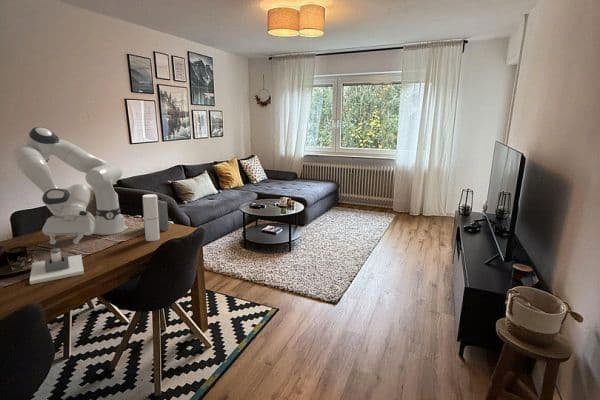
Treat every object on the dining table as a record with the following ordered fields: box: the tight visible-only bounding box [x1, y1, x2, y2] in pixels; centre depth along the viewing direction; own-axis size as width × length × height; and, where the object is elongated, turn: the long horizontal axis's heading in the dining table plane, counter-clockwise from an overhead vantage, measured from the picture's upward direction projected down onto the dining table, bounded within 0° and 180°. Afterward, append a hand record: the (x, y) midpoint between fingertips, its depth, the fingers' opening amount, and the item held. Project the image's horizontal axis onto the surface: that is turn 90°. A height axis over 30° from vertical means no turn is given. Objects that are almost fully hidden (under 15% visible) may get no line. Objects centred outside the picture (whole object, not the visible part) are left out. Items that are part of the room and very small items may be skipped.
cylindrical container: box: [142, 193, 160, 242], centre depth 179 cm, size 7×7×25 cm
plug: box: [50, 247, 62, 263], centre depth 141 cm, size 4×4×8 cm
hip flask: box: [142, 196, 169, 232], centre depth 197 cm, size 16×4×20 cm, turn 77°
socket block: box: [29, 254, 85, 285], centre depth 141 cm, size 20×18×4 cm
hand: (64, 243), depth 144 cm, fingers open, 8 cm apart
